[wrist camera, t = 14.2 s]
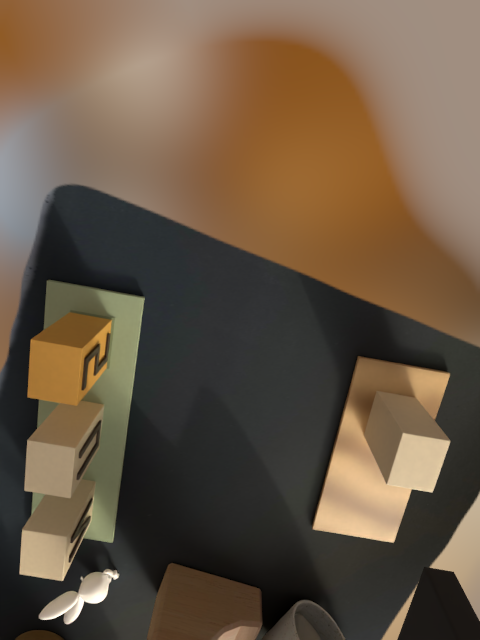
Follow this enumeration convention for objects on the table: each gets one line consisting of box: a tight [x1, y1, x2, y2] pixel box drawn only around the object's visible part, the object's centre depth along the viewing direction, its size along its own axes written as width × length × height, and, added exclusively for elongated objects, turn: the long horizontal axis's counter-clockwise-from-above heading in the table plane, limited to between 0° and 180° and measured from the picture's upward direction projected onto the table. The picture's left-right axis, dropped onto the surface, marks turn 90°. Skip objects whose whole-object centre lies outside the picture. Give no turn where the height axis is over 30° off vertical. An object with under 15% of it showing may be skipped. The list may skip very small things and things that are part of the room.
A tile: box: [364, 391, 450, 492], centre depth 42 cm, size 5×4×8 cm
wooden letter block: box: [19, 479, 96, 581], centre depth 45 cm, size 5×4×8 cm
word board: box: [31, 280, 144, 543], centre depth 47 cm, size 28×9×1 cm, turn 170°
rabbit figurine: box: [39, 569, 119, 624], centre depth 50 cm, size 6×4×8 cm
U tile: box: [24, 401, 104, 498], centre depth 42 cm, size 5×4×8 cm
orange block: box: [27, 312, 112, 406], centre depth 40 cm, size 5×4×8 cm
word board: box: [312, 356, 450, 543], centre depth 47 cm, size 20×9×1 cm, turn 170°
